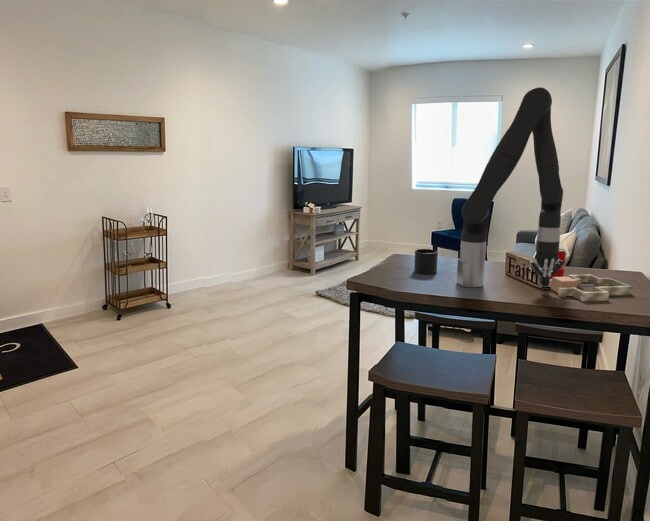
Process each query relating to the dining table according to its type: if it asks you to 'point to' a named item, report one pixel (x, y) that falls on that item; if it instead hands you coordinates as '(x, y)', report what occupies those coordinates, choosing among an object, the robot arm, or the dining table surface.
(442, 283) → the dining table surface
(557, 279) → the block
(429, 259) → the mug
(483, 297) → the dining table surface
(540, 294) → the dining table surface
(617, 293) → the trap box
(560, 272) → the beverage can
